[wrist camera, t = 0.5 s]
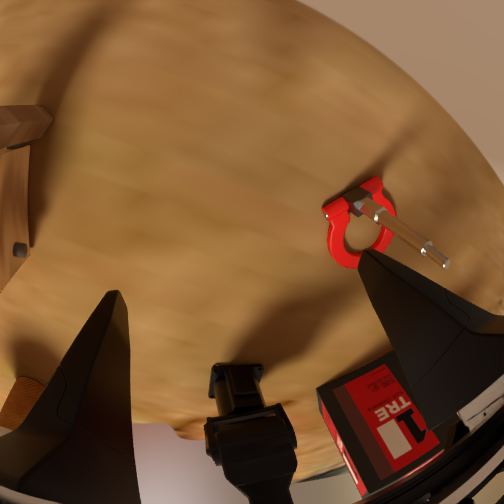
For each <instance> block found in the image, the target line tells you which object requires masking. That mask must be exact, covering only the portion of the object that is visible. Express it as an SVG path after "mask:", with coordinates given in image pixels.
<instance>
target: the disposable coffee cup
mask: <svg viewBox="0 0 504 504" xmlns="http://www.w3.org/2000/svg"><path fill="white" fill-rule="evenodd" d="M44 389H45V387H44V386H43V385H42V384H40V383H38V382H37V381H35V380H33V379H31V378H27V377H18V378H17V380H16V382H15V383H14V385H13V387H12V389H11V391H10V393H9V395H8V397H7V399H6V401H5V403H4V405H3V407H2V409H1V412H0V436H3V435H5V434H7V433H9V432H11V431H13V430H15V429H16V428H17V427H18V426H19V425H20V424H21V423H22V422H23V420H24V419H25V417H26V416H27V414H28V413H29V411H30V410H31V408H32V407H33V405H34V404H35V402H36V401H37V399H38V398H39V396H40V395H41V393H42V392H43V390H44Z"/></svg>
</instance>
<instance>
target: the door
mask: <svg viewBox="0 0 504 504" xmlns="http://www.w3.org/2000/svg"><path fill="white" fill-rule="evenodd" d="M26 144H27V142H23V143H19V144H16V145H12V146H9V147H7V149H4V150H1V151H0V293H1V291H2V290H3V289H4V287H5V286H6V285H7V283H8V282H9V281H10V279H11V278H12V277H13V275H14V274H15V273H16V272H17V270H18V269H19V268H20V266H21V265H22V264H23V263H24V262H25V260H26V259H27V258H28V257H29V256H30V246H29V233H28V169H29V156H30V145H26Z"/></svg>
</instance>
